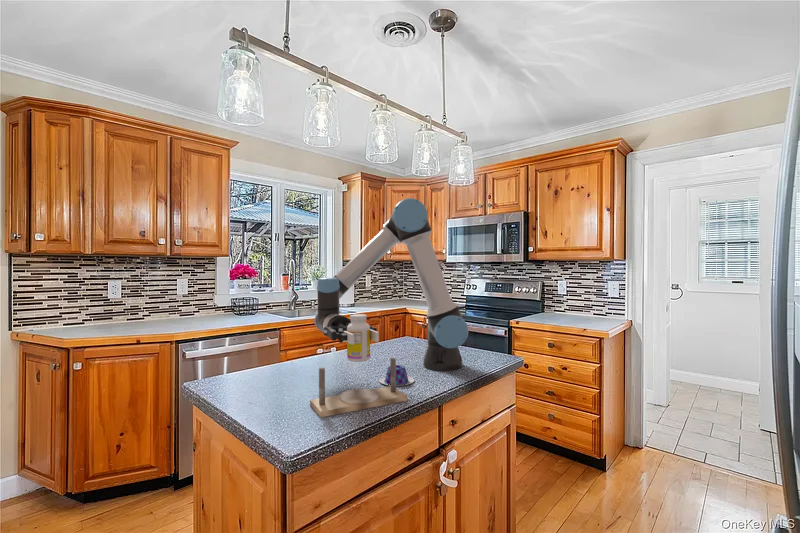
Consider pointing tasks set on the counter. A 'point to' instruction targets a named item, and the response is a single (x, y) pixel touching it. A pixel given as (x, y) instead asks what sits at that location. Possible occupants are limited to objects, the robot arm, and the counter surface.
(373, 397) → the board
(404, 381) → the pudding
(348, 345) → the supplement bottle
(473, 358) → the counter surface
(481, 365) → the counter surface
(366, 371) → the counter surface
